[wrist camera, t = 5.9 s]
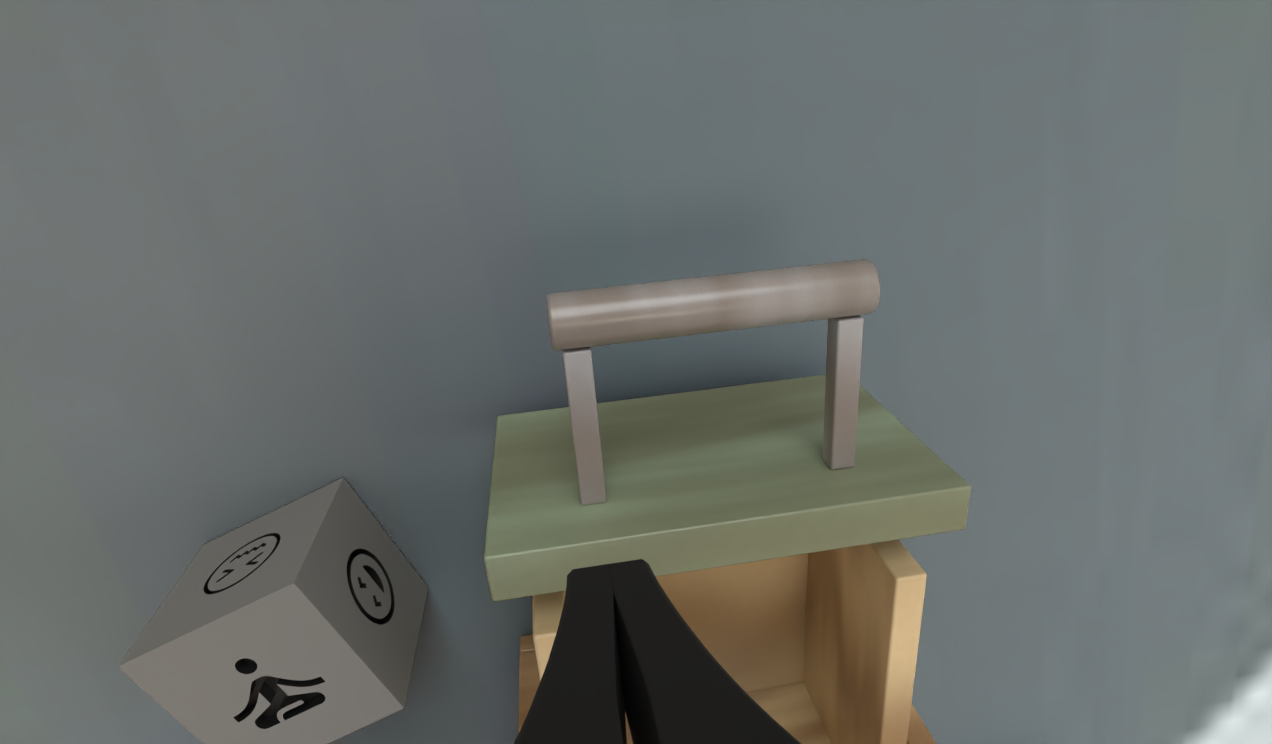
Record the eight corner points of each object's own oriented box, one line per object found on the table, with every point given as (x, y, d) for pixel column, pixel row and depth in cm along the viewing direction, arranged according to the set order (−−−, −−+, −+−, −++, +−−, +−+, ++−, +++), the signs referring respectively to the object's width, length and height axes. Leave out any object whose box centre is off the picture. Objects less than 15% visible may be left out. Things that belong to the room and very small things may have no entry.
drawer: (468, 250, 19) (438, 333, 12) (854, 211, 20) (1004, 269, 14) (547, 716, 25) (553, 920, 19) (829, 667, 27) (921, 845, 20)
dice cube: (299, 647, 24) (245, 782, 19) (203, 544, 22) (117, 666, 17) (428, 587, 24) (404, 707, 19) (343, 477, 22) (293, 582, 17)
